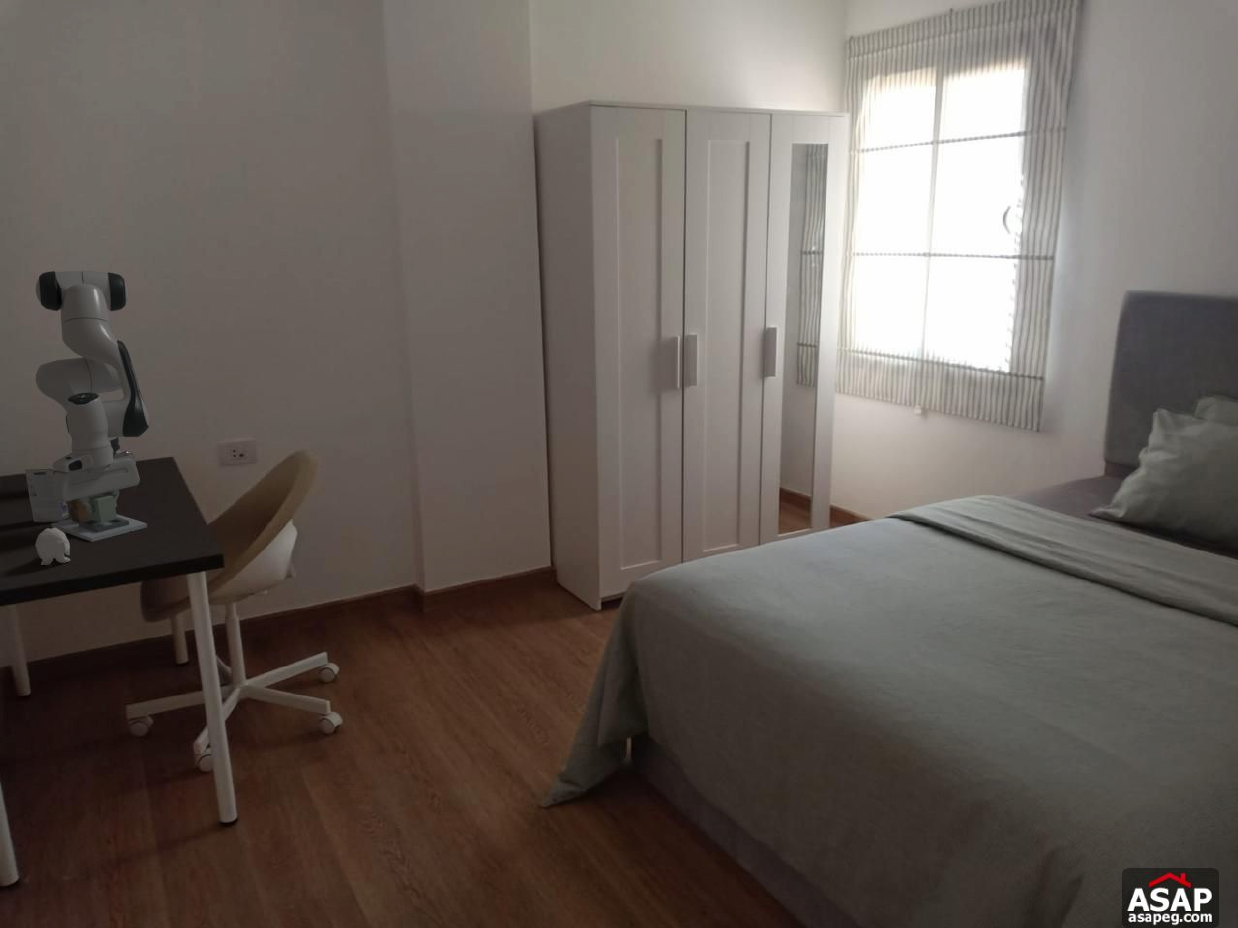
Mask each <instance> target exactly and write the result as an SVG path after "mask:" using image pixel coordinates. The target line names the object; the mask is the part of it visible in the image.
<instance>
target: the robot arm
mask: <svg viewBox="0 0 1238 928" xmlns="http://www.w3.org/2000/svg"><path fill="white" fill-rule="evenodd" d="M129 293H130V292H129V288H128V285H127V282H126V281H125V278H124V277H123V276H122V275H121V274H118V273H113V272H109V271H108V272H100V271H93V270H92V271H91V270H80V271H79V270H72V271H71V270H69V271H68V270H67V271H59V272H58V271H55V270H52V271H46V272H42V273H41V274H40V275H39V276H38V279H37V282H36V286H35V294H36V298H37V299H38V301H39V303H40V305H41V306H42V307H44V308H45V309H47V310H50V311H53V312H54V311H55V312H58V311H60V324H61V338H62V342H63V344H64V345H65V346H66V347H67V348H69V350H70V351H72V352H73V353H75V354H76V355H78V356H80V357H77V358H66V359H57V360H53V361H49V362H46V363H42V364H41V365H40V366H39V367H38V369H37V371H36V374H35V383H36V386H37V388H38V390H39V391H40V392H41V393H42V394H43V395H44V396H46V397H47V398H50V399H52V400H54V401H56V403H58V404H59V405H60V406H61V407H62V408H63V409H64V410H65V412H66V415H65V423H66V428H67V433H68V434H69V435H70V437H71V452H70V453H69V454H66V455H64V456H63V457H61V458H59V459H57V460H55V461H54V462H53V463H52V467H53V468H52V469H53V470H54V475H53V492H54V497H55V498H56V499H57V500H59V501H62V502H66V501H67V502H69V501H71V500H75V499H80V501H81V502H82V504H83V505H84V506H86V511H87V513H89V514H90V513H94V512H95V506H94V505H90V504H89V503H88V502H87V501H89V496H92V495H97V494H101V493H103V494H106V493H108V492H109V493H110V494H111V496H113V497H114V503H115V508H117V507H118V505H117V500H118V497H120V490H122V489H128V488H131V487H136V486H138V485H139V484H140V481H141V479H140V475H139V472H138V471H139V470H138V468H137V465H136V464H137V460H136V455H135V454H134V453H133V452H130V451H128V450H125V451H121V450H120V449H121V444H120V442H121V441H120V440H119V438H123V437H124V438H139V437H140V436H142V435H143V434H144V433H145V432H147V431H148V429H149V428H150V422H151V421H150V420H151V418H150V414H149V411H148V408H147V406H146V404H145V402H144V399H143V396H142V393H141V389H140V386H139V383H138V379H137V376H136V372H135V369H134V366H133V362H132V360H131V356H130V353H129V351H128V348H127V347H126V345H125V343H124V342H123V341H121V340H119V339H117V338H116V336H114V334H113V331H112V327H111V318H110V312H117V311H120V310H122V309H124V308H125V307H126V304H127V302H128V299H129ZM109 311H110V312H109ZM119 390H121V391H122V394H123V397H122V399H117V400H106V401H105V400H104V401H103V400H102V398H101V396H100V395H99V394H102V393H111V392H116V391H119Z"/></svg>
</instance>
